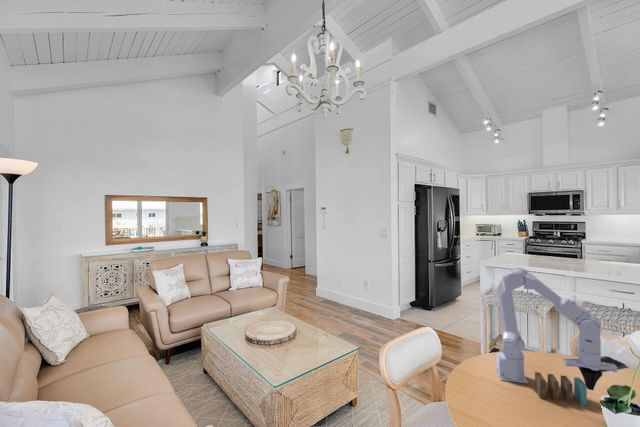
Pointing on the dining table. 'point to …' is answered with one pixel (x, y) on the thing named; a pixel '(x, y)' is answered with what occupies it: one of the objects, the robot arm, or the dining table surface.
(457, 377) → the dining table surface
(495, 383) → the dining table surface
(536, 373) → the domino
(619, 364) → the phone
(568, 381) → the domino
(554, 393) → the domino
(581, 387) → the domino teal placed
